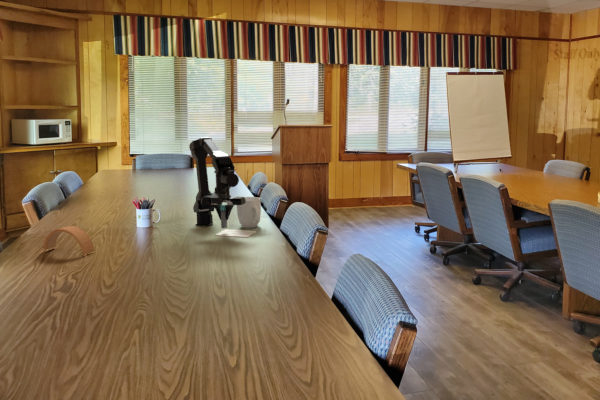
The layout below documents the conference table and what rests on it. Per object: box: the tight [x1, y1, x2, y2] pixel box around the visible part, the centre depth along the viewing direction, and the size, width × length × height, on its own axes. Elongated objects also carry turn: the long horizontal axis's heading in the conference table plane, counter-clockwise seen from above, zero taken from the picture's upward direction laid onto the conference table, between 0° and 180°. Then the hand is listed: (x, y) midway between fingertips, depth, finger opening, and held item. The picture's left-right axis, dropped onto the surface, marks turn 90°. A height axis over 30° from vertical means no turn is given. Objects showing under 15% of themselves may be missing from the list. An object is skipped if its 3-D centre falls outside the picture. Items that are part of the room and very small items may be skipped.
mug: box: [236, 196, 262, 229], centre depth 250 cm, size 15×11×13 cm
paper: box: [215, 228, 258, 238], centre depth 238 cm, size 15×11×1 cm
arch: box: [42, 225, 95, 256], centre depth 211 cm, size 6×20×10 cm, turn 69°
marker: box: [220, 204, 228, 229], centre depth 238 cm, size 3×3×10 cm
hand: (224, 219), depth 238 cm, fingers closed on marker, 3 cm apart
